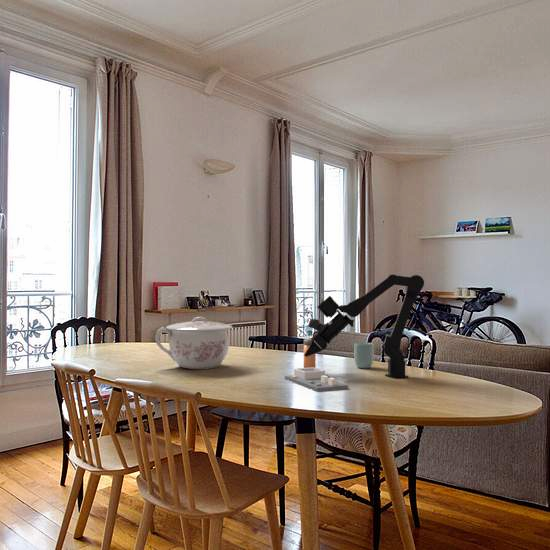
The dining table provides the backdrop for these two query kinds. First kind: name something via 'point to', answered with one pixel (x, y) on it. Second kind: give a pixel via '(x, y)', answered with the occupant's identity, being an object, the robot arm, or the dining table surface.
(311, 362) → the capped spray can
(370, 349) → the cup
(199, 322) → the chamber pot
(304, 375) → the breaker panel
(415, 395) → the dining table surface
